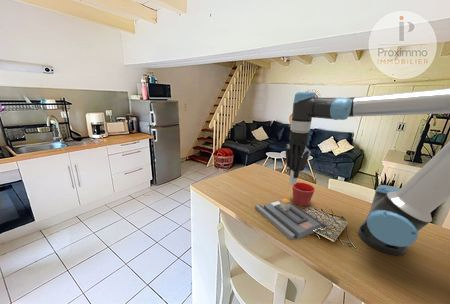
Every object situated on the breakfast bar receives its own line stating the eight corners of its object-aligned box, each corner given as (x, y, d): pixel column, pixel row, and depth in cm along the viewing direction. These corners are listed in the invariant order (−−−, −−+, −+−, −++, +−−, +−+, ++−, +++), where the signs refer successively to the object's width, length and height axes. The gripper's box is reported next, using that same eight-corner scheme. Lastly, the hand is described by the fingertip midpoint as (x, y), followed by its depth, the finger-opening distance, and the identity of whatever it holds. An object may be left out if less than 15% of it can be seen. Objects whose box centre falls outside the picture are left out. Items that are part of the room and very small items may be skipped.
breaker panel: (319, 229, 80) (321, 222, 79) (298, 239, 74) (299, 231, 73) (282, 204, 99) (283, 197, 97) (263, 210, 93) (264, 203, 92)
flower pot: (314, 209, 95) (317, 192, 92) (291, 206, 97) (294, 189, 94) (309, 199, 105) (312, 183, 102) (289, 196, 107) (291, 181, 104)
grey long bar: (296, 237, 75) (297, 234, 74) (290, 240, 74) (291, 236, 73) (259, 206, 95) (259, 203, 95) (254, 208, 94) (255, 205, 93)
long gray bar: (325, 229, 80) (326, 225, 80) (321, 231, 79) (322, 227, 79) (285, 202, 101) (285, 199, 100) (281, 203, 99) (281, 200, 99)
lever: (289, 209, 88) (290, 201, 87) (283, 211, 87) (285, 202, 85) (284, 206, 91) (285, 198, 89) (279, 208, 89) (280, 199, 88)
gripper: (319, 133, 72) (310, 188, 79) (293, 128, 83) (287, 176, 90) (306, 134, 69) (298, 191, 75) (281, 129, 80) (275, 179, 86)
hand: (292, 183), depth 82 cm, fingers closed
